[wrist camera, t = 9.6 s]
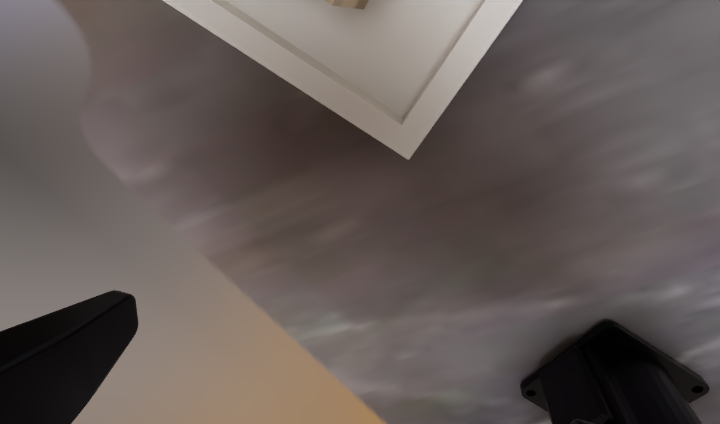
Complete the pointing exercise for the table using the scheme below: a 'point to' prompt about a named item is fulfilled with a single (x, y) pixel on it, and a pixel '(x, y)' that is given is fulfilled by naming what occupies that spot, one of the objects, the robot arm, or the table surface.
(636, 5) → the table surface
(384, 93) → the tray
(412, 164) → the table surface
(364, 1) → the maple block
